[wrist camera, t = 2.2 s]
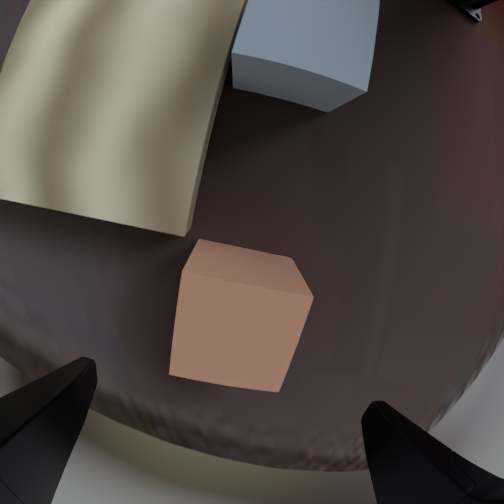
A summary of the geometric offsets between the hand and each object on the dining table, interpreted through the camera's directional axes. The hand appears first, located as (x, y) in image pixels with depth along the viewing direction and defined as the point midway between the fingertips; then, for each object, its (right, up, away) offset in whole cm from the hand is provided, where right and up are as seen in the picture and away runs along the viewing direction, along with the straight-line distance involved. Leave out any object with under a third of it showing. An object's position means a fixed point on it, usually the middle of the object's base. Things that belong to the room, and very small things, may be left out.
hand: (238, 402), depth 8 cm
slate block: (+2, +15, +5) cm, 16 cm away
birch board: (-8, +14, +4) cm, 16 cm away
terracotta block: (-1, +2, +8) cm, 9 cm away
